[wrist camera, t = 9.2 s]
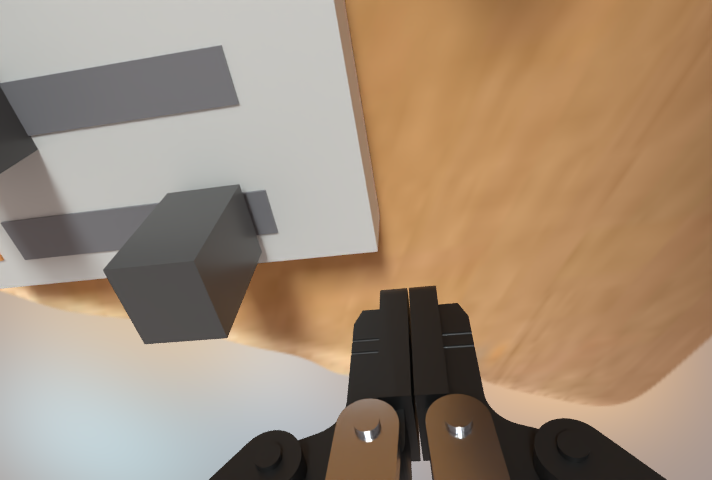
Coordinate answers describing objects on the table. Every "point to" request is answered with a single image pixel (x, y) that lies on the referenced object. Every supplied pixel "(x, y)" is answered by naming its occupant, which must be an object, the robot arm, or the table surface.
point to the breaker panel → (177, 127)
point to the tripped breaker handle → (187, 266)
